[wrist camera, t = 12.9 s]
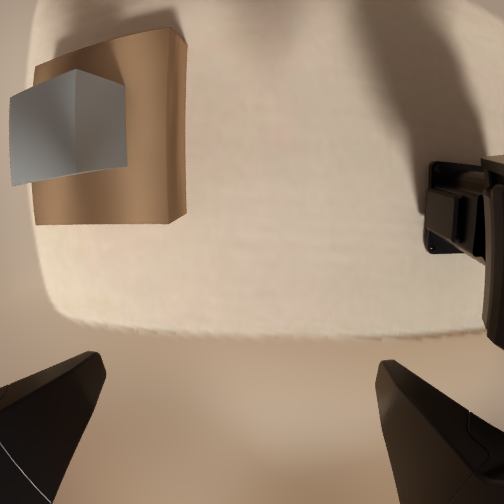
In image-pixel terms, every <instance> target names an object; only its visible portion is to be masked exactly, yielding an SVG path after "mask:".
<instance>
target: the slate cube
mask: <svg viewBox="0 0 504 504" xmlns="http://www.w3.org/2000/svg"><path fill="white" fill-rule="evenodd" d="M9 112H10V114H9V145H10V146H9V147H10V168H11V180H12V186H16V185H22V184H27V183H32V182H37V181H42V180H48V179H53V178H59V177H65V176H70V175H76V174H82V173H87V172H93V171H100V170H106V169H113V168H120V167H127V152H126V131H125V86H124V85H121V84H119V83H116V82H113V81H111V80H108V79H105V78H102V77H99V76H96V75H93V74H90V73H87V72H84V71H81V70H78V69H74V70H72V71H69V72H66V73H64V74H61V75H59V76H56V77H54V78H51V79H49V80H47V81H44V82H42V83H40V84H38V85H35V86H33V87H31V88H29V89H27V90H25V91H23V92H20V93H18V94H16V95H14V96H12V97H11V98H10V111H9Z"/></svg>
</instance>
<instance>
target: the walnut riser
mask: <svg viewBox="0 0 504 504" xmlns="http://www.w3.org/2000/svg"><path fill="white" fill-rule="evenodd" d="M186 67H187V44H186V43H185V42H184V41H183V40H182V39H181V38H180V37H179V36H178V35H177V33H176V32H175V31H174V30H173V29H172V28H171V27H167V28H162V29H156V30H151V31H147V32H142V33H137V34H133V35H129V36H125V37H121V38H117V39H113V40H110V41H106V42H102V43H99V44H96V45H92V46H89V47H86V48H83V49H80V50H77V51H74V52H71V53H69V54H66V55H63V56H60V57H58V58H55V59H53V60H50V61H48V62H45V63H43V64H40V65H38V66H36V67H35V73H34V82H33V86H35V85H38V84H40V83H42V82H44V81H47V80H49V79H51V78H54V77H56V76H59V75H61V74H64V73H66V72H69V71H72V70H74V69H78V70H81V71H84V72H87V73H90V74H93V75H96V76H99V77H102V78H105V79H108V80H111V81H113V82H116V83H119V84H121V85H124V86H125V131H126V152H127V167H120V168H113V169H106V170H100V171H93V172H87V173H82V174H76V175H70V176H65V177H59V178H53V179H48V180H42V181H37V182H32V194H33V205H34V215H35V223H36V225H73V224H170V223H171V222H173V221H175V220H176V219H178V218H180V217H181V216H183V215H185V214H186V213H187V209H186V172H185V103H186Z"/></svg>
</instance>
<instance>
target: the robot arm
mask: <svg viewBox="0 0 504 504" xmlns="http://www.w3.org/2000/svg"><path fill="white" fill-rule="evenodd" d="M436 165H437V166H438V171H437V172H436V171H435V169H434V168H435V166H436ZM481 165H482V166H475V165H467V164H458V163H449V162H439V161H433V162H431V163H430V165H429V189H428V190H427V195H426V216H425V227H426V228H427V231H426V243H425V249H426V251H428V252H429V253H430V254H453V253H466V254H467V255H469V256H471V257H472V258H474V259H475V260H477V261H478V262H480V263H482V264H483V265H485V288H484V302H483V313H482V319H483V322H484V325H485V327H486V329H487V337H488V338H489V339H490V340H491V341H492V342H493V343H494V344H495V345H497V346H498V347H499V348H501V349H503V350H504V155H498V156H490V157H482V158H481ZM432 244H434V247H433V248H432V249H430V247H431V245H432ZM105 379H106V370H105V367H104V364H103V362H102V358H101V355H100V354H99V353H98V352H94V351H87V352H84V353H82V354H80V355H77V356H75V357H73V358H70V359H68V360H66V361H64V362H61V363H59V364H56V365H54V366H52V367H49V368H47V369H45V370H42V371H40V372H38V373H35V374H33V375H30V376H28V377H26V378H23V379H21V380H18V381H16V382H14V383H11V384H10V385H6V386H4V387H1V388H0V504H52V503H53V501H54V499H55V496H56V494H57V491H58V489H59V486H60V484H61V482H62V479H63V477H64V475H65V472H66V470H67V468H68V465H69V463H70V461H71V459H72V457H73V454H74V452H75V450H76V447H77V446H78V443H79V441H80V439H81V437H82V434H83V433H84V431H85V428H86V426H87V424H88V422H89V420H90V418H91V416H92V413H93V411H94V409H95V406H96V403H97V401H98V398H99V395H100V392H101V390H102V387H103V384H104V381H105ZM375 388H376V395H377V401H378V408H379V414H380V421H381V427H382V432H383V436H384V439H385V443H386V447H387V451H388V455H389V459H390V463H391V467H392V471H393V475H394V479H395V483H396V487H397V492H398V496H399V501H400V504H504V432H503V431H501V430H499V429H498V428H496V427H494V426H492V425H490V424H489V423H487V422H486V421H484V420H482V419H481V418H479V417H478V416H476V415H475V414H473V413H472V412H469V410H467V409H466V408H464V407H463V406H461V405H460V404H458V403H457V402H455V401H454V400H452V399H451V398H449V397H448V396H446V395H445V394H443V393H442V392H440V391H439V390H438V389H436V388H435V387H433V386H432V385H430V384H429V383H427V382H426V381H424V380H423V379H421V378H420V377H418V376H417V375H415V374H414V373H413V372H411V371H410V370H408V369H407V368H405V367H404V366H402V365H401V364H399V363H398V362H396V361H395V360H383V361H381V362H380V364H379V368H378V373H377V377H376V382H375Z"/></svg>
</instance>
